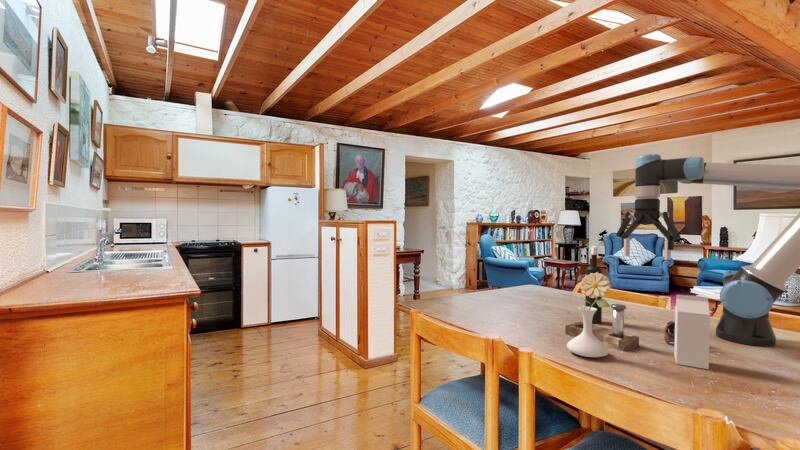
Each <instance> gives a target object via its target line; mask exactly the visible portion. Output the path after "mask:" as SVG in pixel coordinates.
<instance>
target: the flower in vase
mask: <svg viewBox="0 0 800 450" xmlns="http://www.w3.org/2000/svg"><path fill="white" fill-rule="evenodd" d="M609 279H610V278H609V277H608V276H607V275H604V274H603V273H602V274H599V273H598V272H596V273H594V274H593V273H590V275H586V274H585V276H584V277H582V278H581V281H580V282H579V287H580V290H581V294H583V295H585V296H589V297H590V298H596V300H595V301H594V303H595V302H596V303H597V305H598V306H599V307H602V308H610V307H611V304H610V303H609V302H608V301H607V300H606V299H604V298H603V297H605V295H607V292H609V290H610V289H611V287H612V285H611V284H610V283H611V282H610V280H609ZM579 297H581V296H580V294H579ZM598 297H602V299H599V300H597V298H598ZM581 300H583V301H584V302H585V301H586V302H588V301H587V300H585V298H584V297H581ZM588 303H589V302H588ZM594 303H593V304H592V305H591V306H590V307H585V306H578V309H579V311H580V312H581V315H582V320H583V321H582V322H583V324H584V326H583V331H582V333H581V334H580V335H578V336H576V337H573V338H571V339H570V340H569V341H568V342H567V343H566V348H567V350H568V351H570V353H573V354H576V355H578V356H582V357H584V358H585V357H586V358H602V357H605V356H607V355H608V354H609V353H610V350H609V347H608V346H605V345H604V344H603V343H602V342H601V341H600V340H599V339H597V338H596V337H595V336H594V334H593V333H592V325H593V324H592V319H593V315H594V313H595V312H596V311H597V309H596V308H593V307H592V306H593V305H594Z"/></svg>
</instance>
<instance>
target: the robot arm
mask: <svg viewBox="0 0 800 450" xmlns="http://www.w3.org/2000/svg"><path fill="white" fill-rule="evenodd" d="M634 169H635V175H634V176H635V179H634V180H635V182H634V183H635V186H634V187H635V188H634V191H635V192H634V198H635V200H634V212H632V211H626V212H625V215H624V216H625V217H624V219H623V221H622V222H621V225H620V227H619V228H618V230H617V232H616V237H619V238H621V247H623V257H629V256H630V255H631V254H630V252H631V247H630V246H631V245H630V244H631V238H629V237H630V236H631V234H633V232H634V231H635V230H636V229H638V227H639V226H640V225H653V226H655V228H656V229H658V231H659V232H660V233H661V234H662V235H663V236H664V238H666V240H664V254H663V255H664V259H663V260H667V261H668V260H671V259H672V256H671V254H672V252H671V251H672V250H674V247H675V246H674V245H675V241H676V240H679V239H681V238H682V237H681V234H680V232H679V231H678V229H677V227H676V226H675V224H674V222H673V220H672V218H671V212H670V211H663V212H661V211H660V209H661V205H660V204H661V199H660V196H661V182H672V181H676V182H679V183H681V184H688V185H690V184H695V185H696V184H699V185H719V186H720V185H721V186H732V187H733V186H736V187H753V188H768V189H769V188H771V189H785V190H786V189H787V190H800V164H798V165H797V164H770V163H769V164H767V163H736V162H735V163H732V162H731V163H729V162H723V163H722V162H705V160H704V158H703V157H702V156H688V157H679V158H678V157H677V158H671V159H670V158H669V159H662V157H661V154H654V153H653V154H652V153H651V154H649V153H648V154H641V155H638V156H637V157H636V160H635V168H634ZM798 212H799V213H798V214H797V215H796V216H795V217H794V218H793V219H792V220H791V221H790V223H788V225H786V227H785V228H784V229H783V230H782V231H780V233H779V234H778V236H776V238H774V240H773V241H772V242H771V243H770V244H769V245H768V246H767V247H766V248H765V249H764V250H763V252H762V253H761V254H760V255H759V256H758V257H757V258H756V260H754V262H753V263H752V264H749V265H742V266H741V267H740V268H739V269H738V270H730V269H729V270H725V271H723V276H722V281H723V282H722V283H723V284H722V287H721V290H720V292H719V299H720V303H721V304H722V314H721V316H720V318H719V321H717V325H716V327H715V335H716V336H717V337H718V338H720V339H723V340H725V341H729V342H733V343H738V344H743V345H750V346H759V347H771V346H775V345H777V338H776V335H775V332H774V329H773V327H772V324H771V322H770V312H771V309H772V307H773V305H774V304H775V302H776V301H777V300H778V299H780V297H781V296H782V295H783V294H784V293H785V292H786V291H787V288H786V281H787V280H789V278H791V276H793V274H794V273H795V272H796V271H797V270H799V269H800V211H798ZM633 218H635V219H634V220H633V222H632V223H631V224H630V222H631V221H632V219H633ZM660 218H662V219H663V222H664V223H665V225H666V227H667V228H668V229H667V228H666V227H665V226H664V225H663V224H662V222H661V221H660Z"/></svg>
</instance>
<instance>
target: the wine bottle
mask: <svg viewBox="0 0 800 450" xmlns="http://www.w3.org/2000/svg"><path fill="white" fill-rule="evenodd" d="M590 251H591V253H590V254H591V258H590V259H591V261H590V263H591V265H587V266H586V268H585V275H590V273H593V274H594V273H596V272H598V273H599V274H603V268H602V267H601V266H599V265H598V245H591V248H590ZM584 297H585V298H584V299H585V300H587V301H588V302H589V303H588V302H586V301H585V300H584V302H585V307H590V306H591V305H592V304H593V303H594V301H595V300H596V298H590V297H589V296H586V295H585V296H584ZM599 299H603V296H602V297H598V298H597V300H599ZM592 307H593V308H596V309H597V311H596V312H595V313H594V315H593V319H592V325H600V324H602V319H603V318H602V315H603V314H602V313H603V311H602V309H603V307H599V306H598V305H597V303H596V302H595V303H594V305H593V306H592Z"/></svg>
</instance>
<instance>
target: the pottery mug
mask: <svg viewBox="0 0 800 450" xmlns="http://www.w3.org/2000/svg"><path fill="white" fill-rule="evenodd" d="M664 342H665V343H666V344H667V345H669V343H675V321H672V320H670V321H668V322H667V324H666V325H665V327H664Z"/></svg>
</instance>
